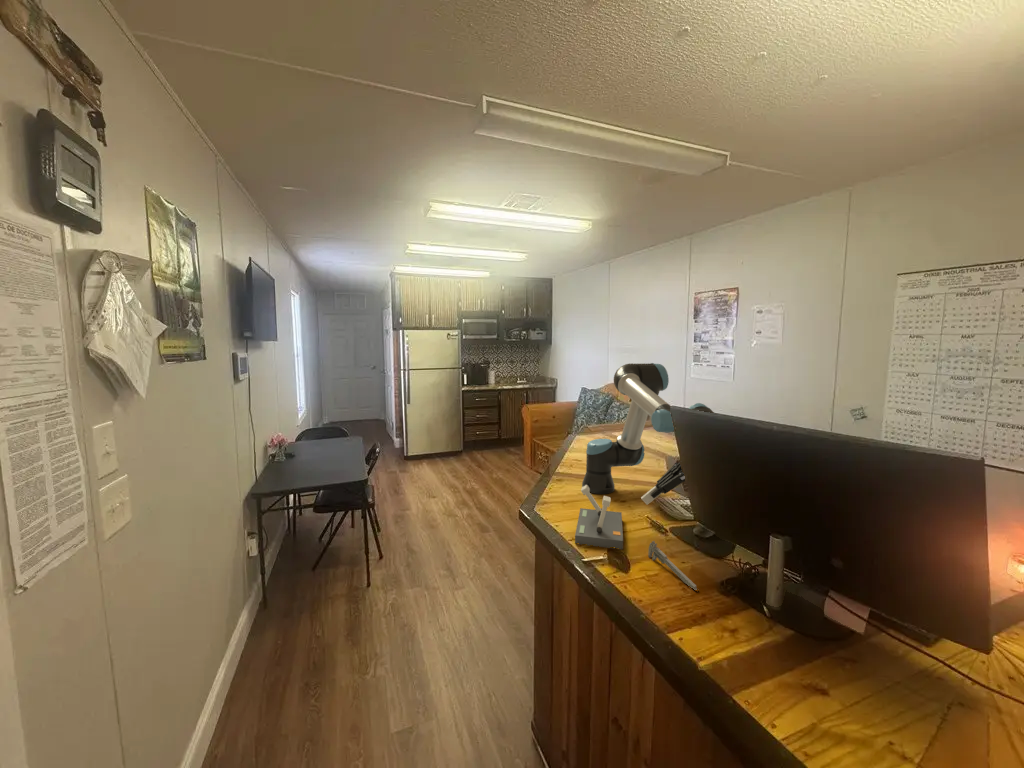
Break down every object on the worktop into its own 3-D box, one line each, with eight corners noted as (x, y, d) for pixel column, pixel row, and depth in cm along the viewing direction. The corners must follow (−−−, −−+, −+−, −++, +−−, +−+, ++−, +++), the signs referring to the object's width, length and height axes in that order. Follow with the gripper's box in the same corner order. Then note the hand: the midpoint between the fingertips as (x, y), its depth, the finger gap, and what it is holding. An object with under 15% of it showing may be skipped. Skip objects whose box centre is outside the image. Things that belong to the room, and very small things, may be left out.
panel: (580, 515, 164) (580, 507, 164) (621, 519, 161) (621, 511, 160) (574, 543, 141) (575, 534, 141) (622, 549, 137) (623, 540, 137)
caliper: (647, 557, 133) (648, 539, 132) (650, 557, 133) (651, 538, 133) (696, 593, 114) (698, 572, 113) (699, 592, 114) (701, 571, 114)
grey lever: (595, 527, 146) (603, 495, 144) (602, 529, 146) (610, 497, 144) (595, 532, 142) (603, 499, 140) (601, 534, 142) (610, 501, 140)
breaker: (599, 513, 160) (581, 487, 160) (604, 510, 159) (586, 484, 160) (598, 517, 156) (581, 490, 156) (604, 515, 155) (586, 487, 156)
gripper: (712, 470, 126) (654, 517, 132) (703, 459, 139) (650, 502, 144) (695, 452, 127) (637, 500, 132) (687, 443, 140) (634, 486, 145)
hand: (644, 501), depth 138 cm, fingers closed
